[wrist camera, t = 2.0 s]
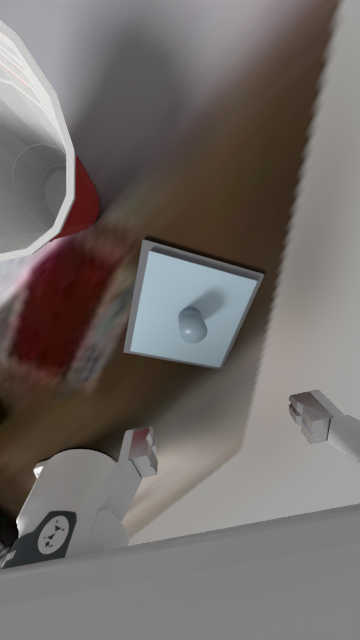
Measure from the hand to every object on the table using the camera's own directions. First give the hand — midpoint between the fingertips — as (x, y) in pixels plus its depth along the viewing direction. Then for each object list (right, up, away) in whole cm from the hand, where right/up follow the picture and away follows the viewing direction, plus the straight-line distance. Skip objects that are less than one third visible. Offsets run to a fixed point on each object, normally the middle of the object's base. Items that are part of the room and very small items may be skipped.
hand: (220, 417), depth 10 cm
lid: (-1, +6, +14) cm, 16 cm away
